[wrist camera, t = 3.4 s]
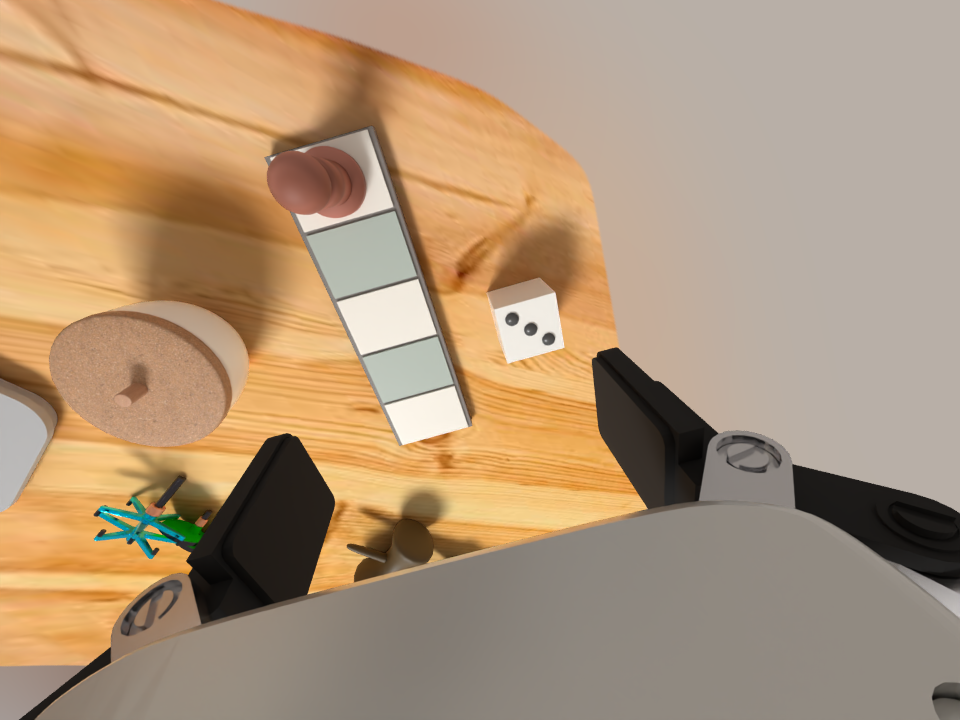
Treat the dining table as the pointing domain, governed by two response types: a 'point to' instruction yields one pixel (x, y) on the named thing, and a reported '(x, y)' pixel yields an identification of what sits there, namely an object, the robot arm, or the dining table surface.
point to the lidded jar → (151, 371)
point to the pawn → (317, 182)
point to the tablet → (21, 438)
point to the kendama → (396, 551)
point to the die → (526, 319)
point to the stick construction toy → (154, 523)
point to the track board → (385, 299)
